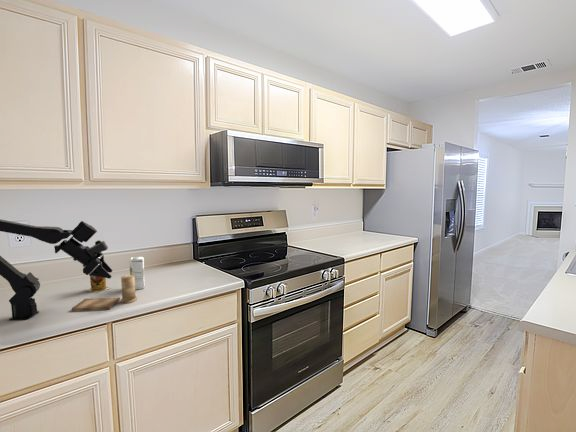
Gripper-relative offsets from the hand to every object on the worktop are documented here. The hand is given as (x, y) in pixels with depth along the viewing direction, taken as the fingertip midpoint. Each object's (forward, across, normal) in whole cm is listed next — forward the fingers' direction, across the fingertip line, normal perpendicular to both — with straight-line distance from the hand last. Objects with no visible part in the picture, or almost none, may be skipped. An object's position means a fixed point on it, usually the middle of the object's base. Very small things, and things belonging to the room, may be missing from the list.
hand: (111, 274), depth 130 cm
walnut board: (+4, 0, +13) cm, 13 cm away
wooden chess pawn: (+13, 0, +4) cm, 14 cm away
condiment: (+4, +23, +14) cm, 27 cm away
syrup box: (+16, +17, +2) cm, 23 cm away
